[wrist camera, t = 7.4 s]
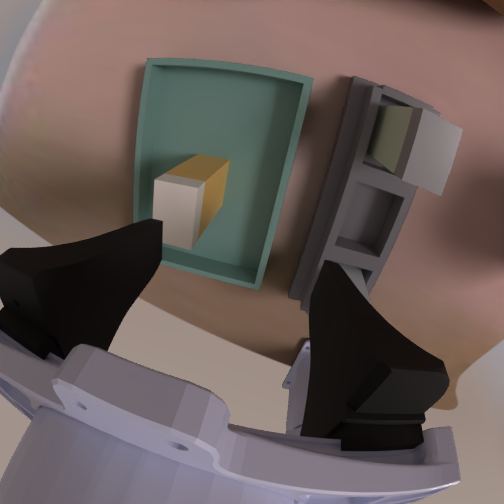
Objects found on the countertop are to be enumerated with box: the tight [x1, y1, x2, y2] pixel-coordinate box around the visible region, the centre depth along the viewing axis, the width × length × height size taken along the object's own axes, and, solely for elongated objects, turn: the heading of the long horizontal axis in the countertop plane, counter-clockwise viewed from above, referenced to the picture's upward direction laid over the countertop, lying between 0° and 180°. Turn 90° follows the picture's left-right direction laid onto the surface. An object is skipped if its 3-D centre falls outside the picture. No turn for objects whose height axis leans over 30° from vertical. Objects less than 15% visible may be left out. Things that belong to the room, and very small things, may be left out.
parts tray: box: [133, 58, 314, 291], centre depth 19 cm, size 16×11×2 cm
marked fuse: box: [153, 154, 230, 250], centre depth 17 cm, size 4×2×7 cm, turn 169°
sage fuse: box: [367, 105, 463, 196], centre depth 13 cm, size 4×2×7 cm, turn 169°
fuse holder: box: [288, 76, 440, 314], centre depth 19 cm, size 18×7×3 cm, turn 169°
